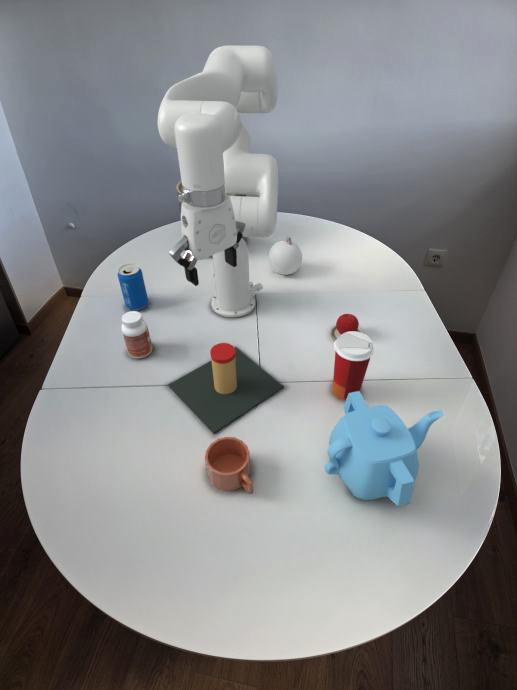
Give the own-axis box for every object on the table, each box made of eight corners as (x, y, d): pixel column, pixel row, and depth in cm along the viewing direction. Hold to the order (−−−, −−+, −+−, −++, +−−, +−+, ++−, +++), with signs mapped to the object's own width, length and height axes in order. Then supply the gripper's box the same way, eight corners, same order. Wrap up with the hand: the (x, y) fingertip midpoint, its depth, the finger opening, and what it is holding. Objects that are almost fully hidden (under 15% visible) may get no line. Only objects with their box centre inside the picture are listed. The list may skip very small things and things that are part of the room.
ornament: (306, 269, 137) (309, 234, 129) (290, 284, 131) (292, 249, 123) (278, 260, 142) (280, 226, 134) (262, 274, 135) (262, 240, 127)
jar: (227, 374, 102) (225, 339, 95) (242, 386, 99) (240, 351, 92) (209, 385, 100) (205, 350, 92) (223, 398, 97) (220, 363, 89)
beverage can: (121, 308, 122) (111, 272, 114) (134, 296, 127) (125, 260, 119) (140, 314, 121) (131, 277, 113) (153, 301, 125) (145, 265, 117)
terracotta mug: (199, 469, 84) (196, 453, 80) (232, 446, 88) (231, 429, 84) (234, 511, 77) (233, 495, 74) (268, 484, 81) (269, 468, 78)
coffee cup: (366, 382, 101) (377, 334, 90) (360, 408, 95) (372, 359, 85) (331, 374, 103) (338, 326, 93) (323, 399, 97) (330, 350, 87)
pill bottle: (156, 353, 108) (148, 319, 101) (133, 362, 106) (123, 328, 99) (147, 339, 112) (138, 305, 105) (124, 348, 110) (114, 314, 102)
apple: (325, 339, 112) (328, 319, 108) (336, 322, 117) (339, 303, 113) (355, 349, 109) (359, 329, 105) (364, 331, 114) (368, 311, 110)
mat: (235, 348, 110) (235, 346, 109) (283, 387, 100) (283, 386, 99) (168, 386, 100) (168, 384, 100) (214, 434, 90) (213, 432, 90)
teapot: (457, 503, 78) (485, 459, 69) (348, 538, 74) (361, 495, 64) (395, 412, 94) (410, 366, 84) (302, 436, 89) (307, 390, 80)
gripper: (175, 216, 70) (188, 299, 82) (255, 185, 78) (256, 264, 90) (151, 200, 74) (166, 281, 86) (229, 172, 82) (233, 250, 94)
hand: (212, 273), depth 88 cm, fingers open, 9 cm apart
